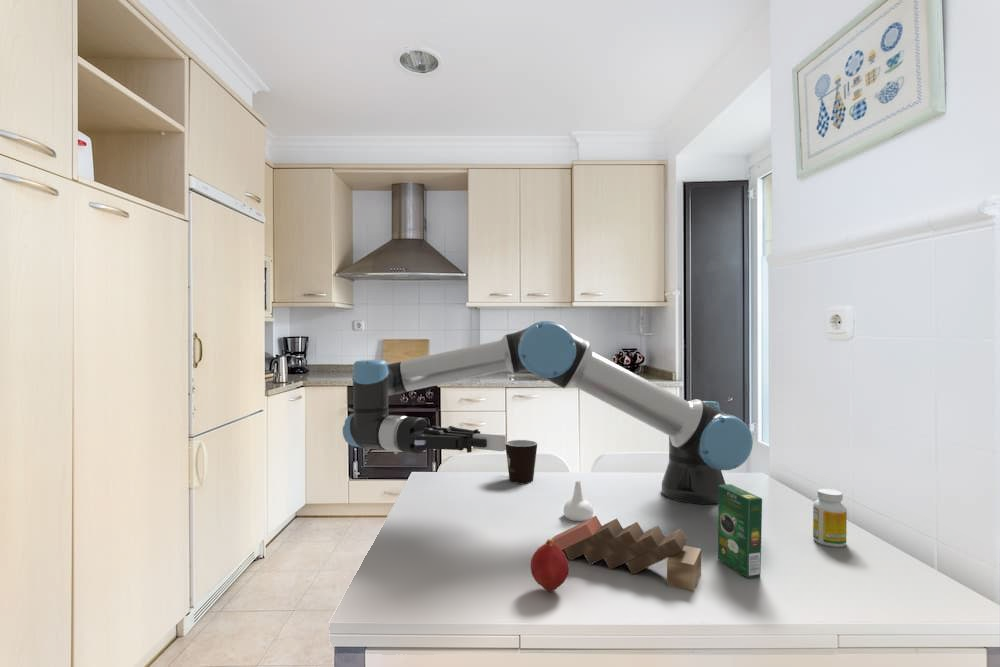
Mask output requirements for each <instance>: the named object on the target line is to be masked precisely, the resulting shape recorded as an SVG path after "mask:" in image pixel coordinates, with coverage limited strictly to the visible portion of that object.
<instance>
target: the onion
mask: <svg viewBox="0 0 1000 667" xmlns="http://www.w3.org/2000/svg"><path fill="white" fill-rule="evenodd" d="M551 539H552V538H551ZM551 539H550V538H549V539H547V540H546V542H545V544H542V545H541V546H539V547H538V548H537V549H536V550H535V551H534V554H533V556H532V557H531V560H530V572H531V575H532V577H533V580H534V581H535V582H536V583H537V584H538V585H539V586H541V587H542V588H543V589H544V590H545V591H547V592H549V593H553V592H554V591H555V590H556V589H558V588H559V587H560V586H562V584H564V582H566V579H567V578H568V577H569V573H570V572H569V571H570V564H569V560H568V558H567V554H566V553H565V551H563V550H561V549H560V548H559V547H558V546H557V545H555V544H554V542H553V540H551Z"/></svg>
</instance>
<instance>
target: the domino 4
mask: <svg viewBox="0 0 1000 667" xmlns="http://www.w3.org/2000/svg"><path fill="white" fill-rule="evenodd" d="M643 532H644V533H643V534H642V535H641V537H640V538H639V539H638V540H637V542H636V543H634V544H632V545H630V546H628V547H626V548H624V549H622V550H619V551H617V552H615V553H613V554H611V555H609V556H607V557H605V558H603V560H604V561H605V564H606V565H607V567H608V569H609V570H610V569H611V570H612V569H614V568H617V567H618V566H621V565H623V564H626V562H627V561H629V560H631V559H634V558H636V557H638V556H640V555H642V554H644V553H646V552H648V551H650V550H652V549H654V548H657V547H658V546H659V545H660V543H661V542H662V540H663V539H664V537H665V536H666V535H665V534H664V533H663V531H662V529H661V528H660V526H659V525H656V526H654V527H652V528H649V529H648V530H646V531H643Z"/></svg>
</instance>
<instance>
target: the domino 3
mask: <svg viewBox="0 0 1000 667" xmlns="http://www.w3.org/2000/svg"><path fill="white" fill-rule="evenodd" d="M644 532H645V531H643V529H642V527H641V526H640V524H639V522H638V521H635V522H634V523H632V524H630V525H628V526H626V527H624V528H623V529H622V531H621V532H620V533H619V534H618V535H617V536H616V537H615V538H614V539H612V540H610V541H608V542H606V543H604V544H602V545H600V546H598V547H596V548H594V549H592V550H590V551H588V552H586V553H584V554H583V556H584V557H585V559H586V561H587V563H588V565H589V566H591V565H592V564H593V565H594V564H595V563H597V562H599V561H601V560H604V558H605V557H607V556H609V555H611V554H613V553H615V552H617V551H619V550H622V549H624V548H626V547H628V546H630V545H632V544H634V543H636V542H637V540H638V539H639V538H640V537H641V535H642V534H643V533H644Z"/></svg>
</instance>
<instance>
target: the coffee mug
mask: <svg viewBox="0 0 1000 667" xmlns="http://www.w3.org/2000/svg"><path fill="white" fill-rule="evenodd" d="M537 449H538V442H537V441H534V440H528V439H527V440H526V439H515V440H514V439H512V440H508V441H507V440H506V450H505V451H506V459H507V469H508V478H509V482H511V481H512V482H511V483H513V482H517V483H516V484H521V483H523V484H528V483H527V482H530V483H532V482H533V481H534V476H535V468H536V459H537V451H538V450H537ZM531 481H532V482H531Z"/></svg>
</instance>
